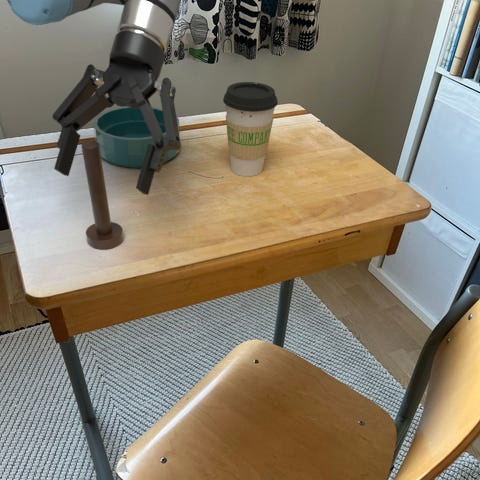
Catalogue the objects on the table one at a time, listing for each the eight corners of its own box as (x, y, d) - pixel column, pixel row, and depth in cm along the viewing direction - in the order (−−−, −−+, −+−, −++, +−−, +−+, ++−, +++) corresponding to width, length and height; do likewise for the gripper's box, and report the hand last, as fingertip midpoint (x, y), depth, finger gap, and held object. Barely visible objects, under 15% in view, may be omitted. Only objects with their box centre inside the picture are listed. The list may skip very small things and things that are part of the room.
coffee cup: (214, 175, 98) (215, 94, 88) (231, 154, 105) (233, 77, 95) (263, 184, 96) (270, 103, 86) (277, 163, 103) (284, 85, 93)
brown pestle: (79, 242, 80) (60, 146, 70) (104, 226, 84) (89, 132, 73) (107, 253, 78) (91, 157, 68) (130, 236, 82) (119, 142, 71)
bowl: (80, 154, 102) (74, 125, 98) (133, 127, 113) (131, 100, 109) (145, 177, 97) (143, 147, 92) (195, 147, 107) (195, 118, 103)
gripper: (226, 71, 76) (186, 207, 76) (81, 47, 82) (44, 173, 82) (212, 40, 69) (168, 191, 69) (54, 16, 75) (13, 155, 75)
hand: (100, 182), depth 75 cm, fingers open, 13 cm apart
